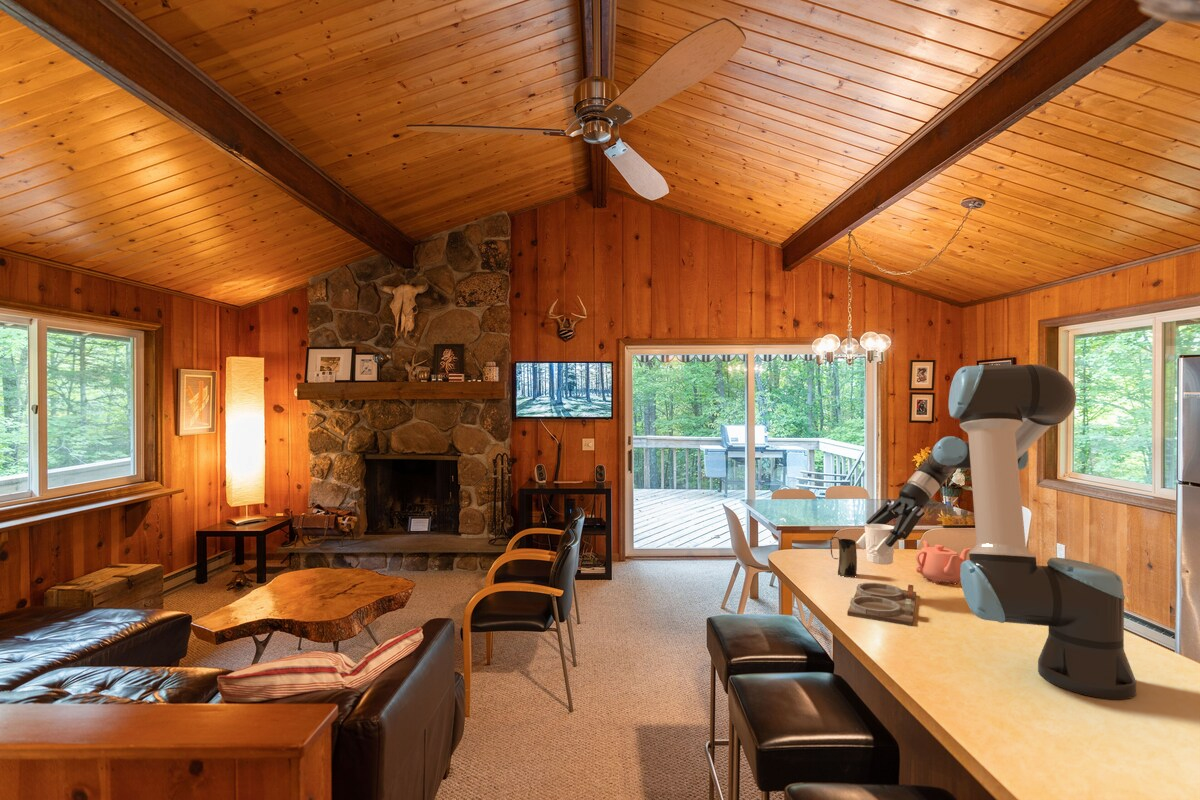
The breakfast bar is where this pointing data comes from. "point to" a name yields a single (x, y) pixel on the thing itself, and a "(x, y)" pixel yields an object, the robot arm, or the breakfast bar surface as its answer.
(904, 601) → the board
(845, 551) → the mug
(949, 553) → the teapot
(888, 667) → the breakfast bar surface
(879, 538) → the white cup
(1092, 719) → the breakfast bar surface
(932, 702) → the breakfast bar surface
